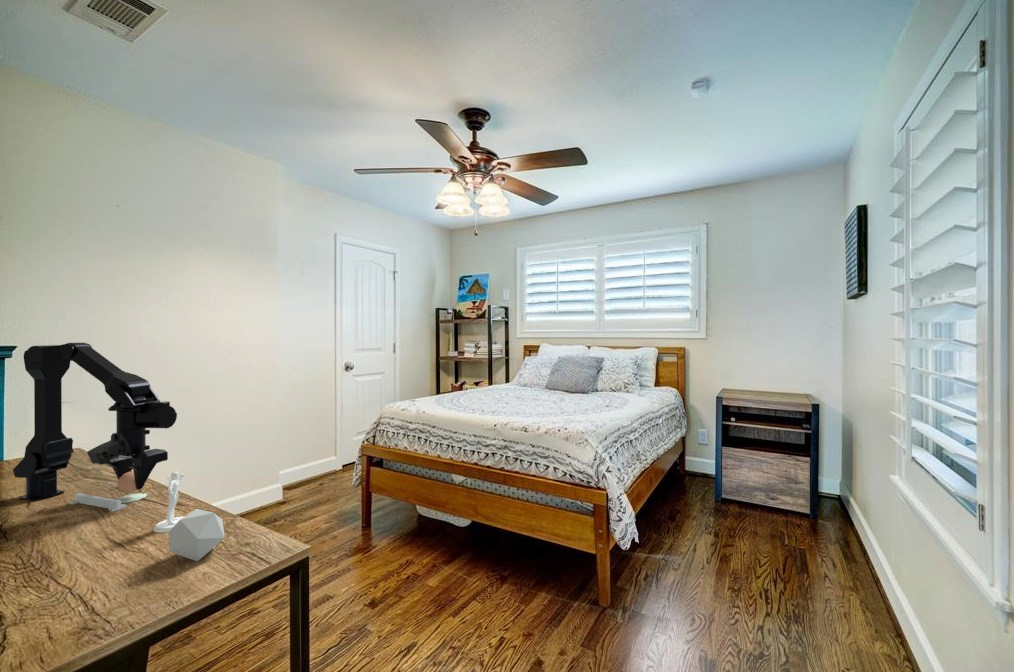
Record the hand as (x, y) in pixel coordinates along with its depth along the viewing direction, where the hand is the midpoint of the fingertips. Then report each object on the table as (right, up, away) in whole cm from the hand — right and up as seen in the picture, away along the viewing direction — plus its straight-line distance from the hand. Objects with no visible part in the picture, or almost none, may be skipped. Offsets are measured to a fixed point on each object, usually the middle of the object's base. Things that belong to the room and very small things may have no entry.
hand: (131, 488), depth 114 cm
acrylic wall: (-5, -3, -4) cm, 7 cm away
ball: (0, -1, 0) cm, 1 cm away
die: (+38, -3, -29) cm, 48 cm away
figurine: (+23, -3, -16) cm, 28 cm away
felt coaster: (0, -3, 0) cm, 3 cm away
